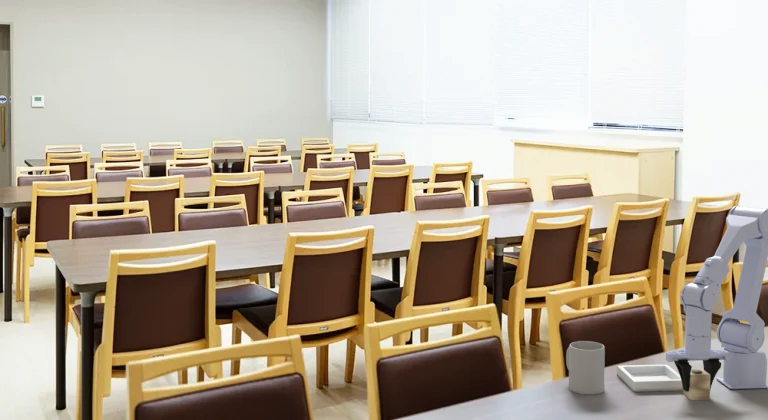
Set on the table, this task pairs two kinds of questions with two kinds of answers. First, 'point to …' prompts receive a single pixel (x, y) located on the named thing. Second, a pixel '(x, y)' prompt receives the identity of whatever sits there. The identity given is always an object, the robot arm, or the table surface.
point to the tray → (650, 377)
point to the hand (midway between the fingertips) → (696, 389)
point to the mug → (586, 367)
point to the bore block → (698, 385)
